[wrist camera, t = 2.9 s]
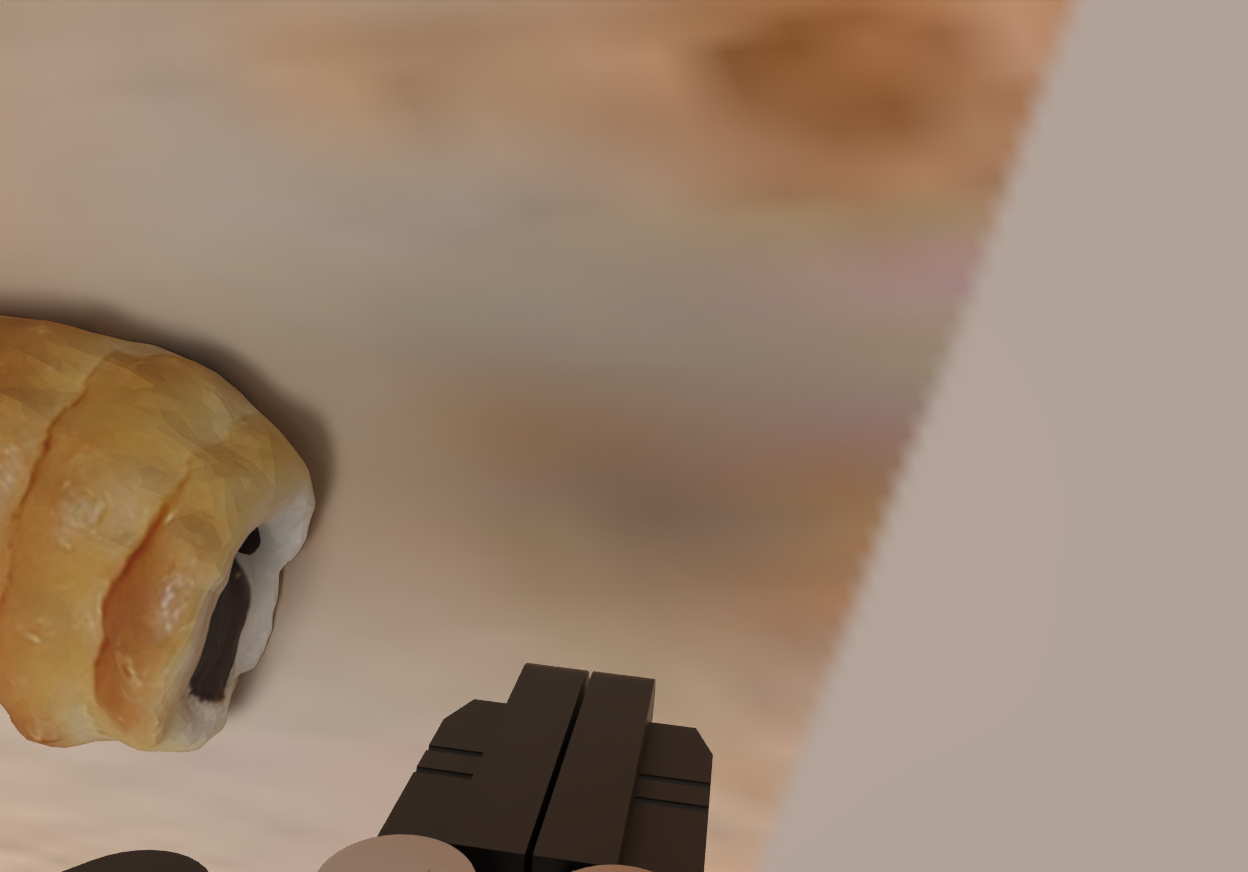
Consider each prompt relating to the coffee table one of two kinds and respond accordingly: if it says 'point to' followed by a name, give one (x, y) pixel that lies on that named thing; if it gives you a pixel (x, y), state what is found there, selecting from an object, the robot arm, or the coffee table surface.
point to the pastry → (134, 538)
